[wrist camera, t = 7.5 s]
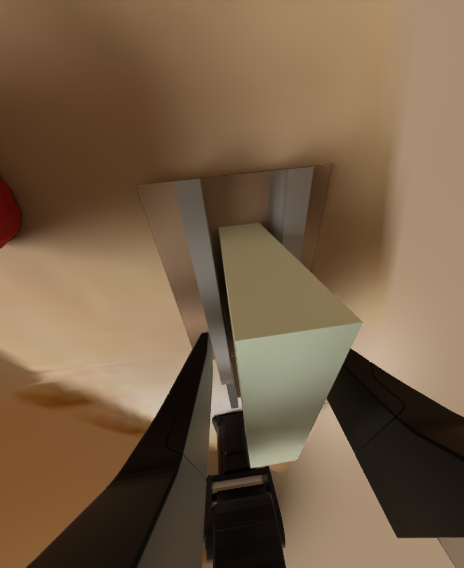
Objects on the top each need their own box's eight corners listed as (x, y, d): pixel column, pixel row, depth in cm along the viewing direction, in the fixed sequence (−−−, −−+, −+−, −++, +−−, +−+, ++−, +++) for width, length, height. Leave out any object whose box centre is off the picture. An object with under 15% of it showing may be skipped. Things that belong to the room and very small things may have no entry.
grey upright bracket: (266, 393, 25) (269, 402, 24) (230, 399, 25) (231, 408, 24) (269, 346, 19) (272, 356, 18) (221, 354, 19) (222, 364, 18)
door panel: (259, 335, 15) (296, 460, 9) (233, 339, 15) (250, 468, 8) (259, 222, 10) (363, 322, 3) (218, 227, 10) (235, 341, 3)
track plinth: (290, 335, 18) (308, 371, 15) (198, 348, 18) (195, 389, 14) (316, 165, 10) (371, 160, 7) (145, 184, 9) (109, 188, 6)
